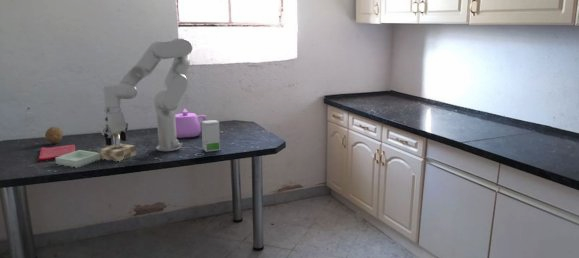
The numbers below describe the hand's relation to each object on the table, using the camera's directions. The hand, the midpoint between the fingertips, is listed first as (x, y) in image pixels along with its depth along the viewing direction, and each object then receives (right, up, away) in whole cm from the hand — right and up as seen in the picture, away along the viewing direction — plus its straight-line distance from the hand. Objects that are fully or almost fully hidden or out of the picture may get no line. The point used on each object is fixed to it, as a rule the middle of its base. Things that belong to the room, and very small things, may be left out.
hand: (116, 142), depth 220 cm
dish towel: (-34, -7, +8) cm, 36 cm away
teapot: (+25, +3, +43) cm, 50 cm away
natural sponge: (-45, -2, +27) cm, 53 cm away
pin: (0, -7, +2) cm, 8 cm away
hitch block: (0, -7, +2) cm, 8 cm away
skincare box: (+46, -4, +14) cm, 48 cm away
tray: (-16, -9, -6) cm, 20 cm away
